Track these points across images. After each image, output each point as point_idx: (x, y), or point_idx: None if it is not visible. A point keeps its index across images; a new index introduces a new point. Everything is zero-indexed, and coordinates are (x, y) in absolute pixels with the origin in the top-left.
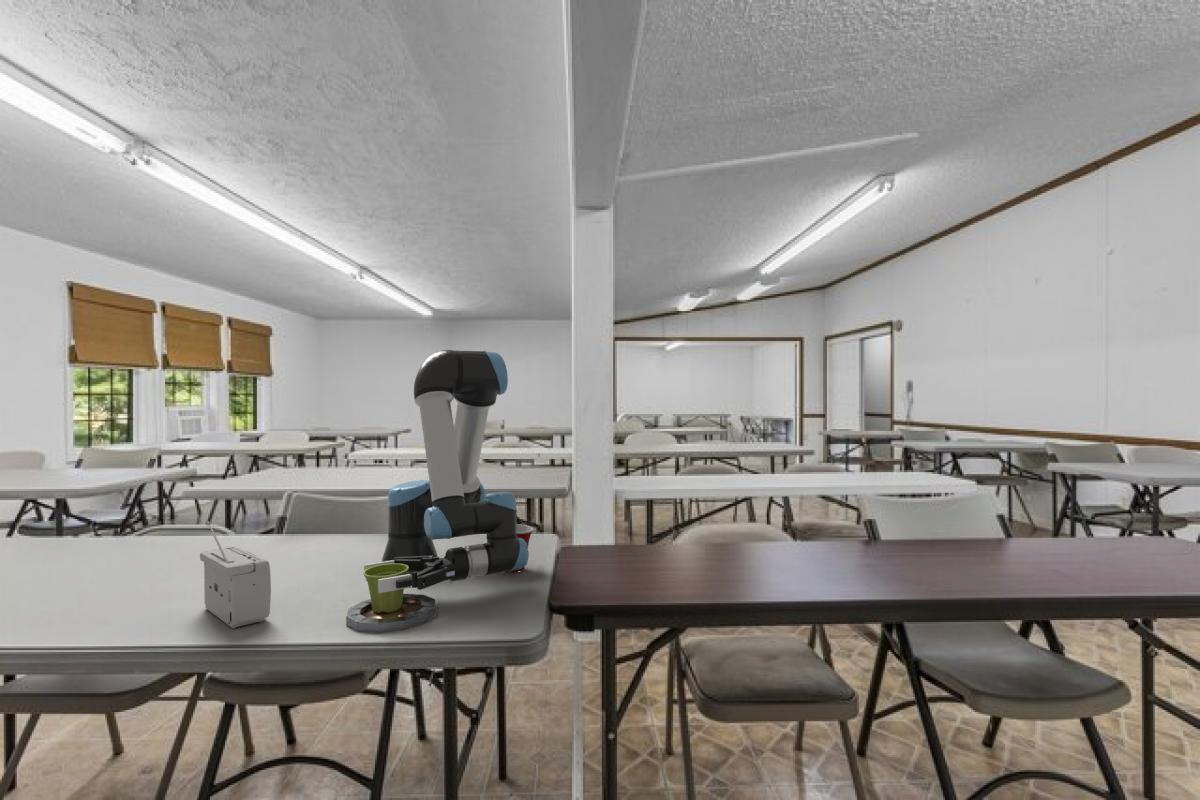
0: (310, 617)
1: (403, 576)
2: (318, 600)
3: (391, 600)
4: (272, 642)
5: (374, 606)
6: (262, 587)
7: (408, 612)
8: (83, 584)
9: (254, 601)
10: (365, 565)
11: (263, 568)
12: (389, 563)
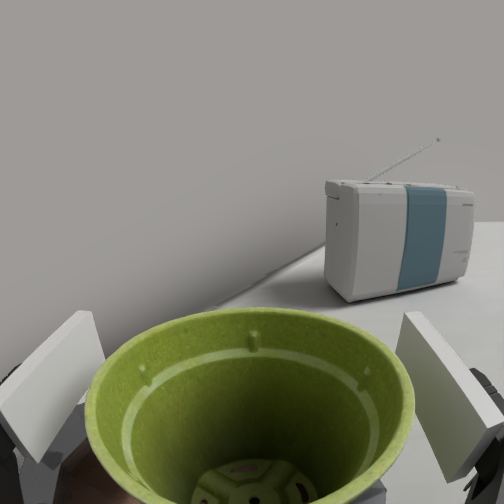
0: None
1: (11, 377)
2: (459, 355)
3: (171, 475)
4: (224, 308)
5: (231, 445)
6: (343, 236)
7: None
8: (498, 232)
9: (335, 256)
10: (406, 315)
11: (345, 198)
12: (465, 413)
